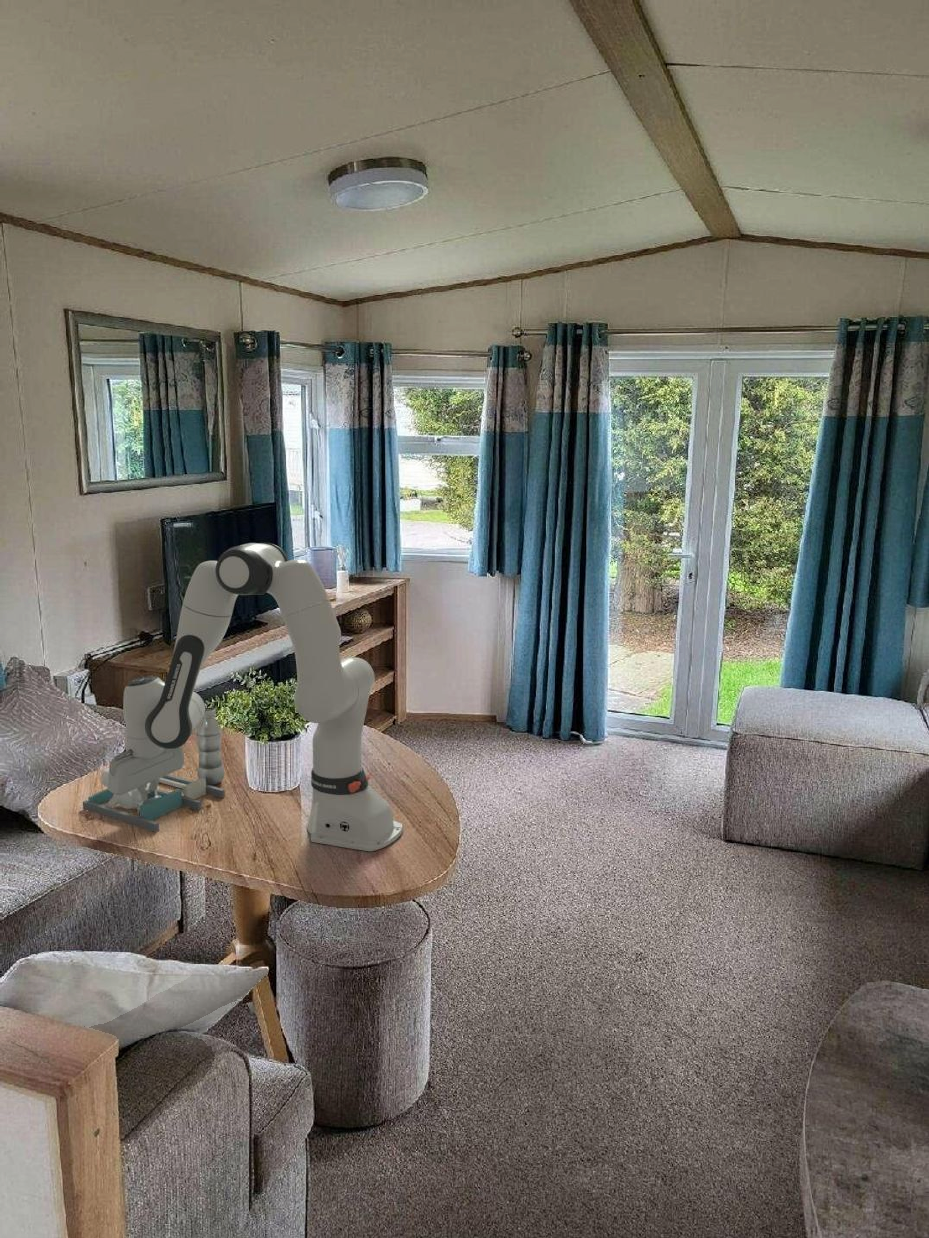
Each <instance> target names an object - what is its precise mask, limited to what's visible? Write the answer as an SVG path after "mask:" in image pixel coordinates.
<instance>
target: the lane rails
mask: <svg viewBox="0 0 929 1238" xmlns="http://www.w3.org/2000/svg"><path fill="white" fill-rule="evenodd" d="M162 778H165V779H169V780H173V781H176V782H180V783H183V784H190V783H192V782H194V781H195V780H191V779H188V778H184V777H182V776H181V777H180V776H177V775H173V774H171V773H170V774H168V775H166V776H164V777H162ZM156 791H157V794H158V795H162V796H164V795H166V794H168V793H170V791H167V790H163V789H160V788H157V789H156ZM225 791H226V790H225V788H220V787H217V786H214V785H207V784H206V794H205V795H210V796H213V797H217V798H220V799H223V798H225V796H226V794H225V793H226V792H225ZM182 804H183V805H182V806H181V807H186V808H189V809H193V810H197V811H201V810H202V808H203V807H202V801H201V800H199V799H197V798H196V799H192V798H189V797H185V796H183V795H182ZM82 809H85V810H84V811H86V810H88V811H87V812H89V811H90V813H93V814H96V815H100V816H102V817H106V818H109V819H112V820H115V821H119V822H121V823H124V824H128V825H131V826H134V827H137V828H141V829H144V830H147V831H150V832H154V833H158V832H159V831H160V826H159V825H160V824H159V822H157V821H154V820H148V819H145V818H142V817H140V816H139V815H136V816H135V814H133V815H132V813H130V812H126V811H123V810H120V809H117V810H116V808H114V807H111V808H110V807H106V805H104V806H103V804H101V805H100V804H97V803H93V802H90V801H89V800H83V801H82ZM119 810H120V811H119ZM122 811H123V812H122ZM129 813H130V814H129Z"/></svg>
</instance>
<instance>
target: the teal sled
mask: <svg viewBox="0 0 929 1238" xmlns="http://www.w3.org/2000/svg"><path fill="white" fill-rule="evenodd" d="M169 792H170V791H169ZM113 795H114V794H113V793H111V792H110V791H109V790H108V788H107V787H106V788H105V789H103V790H101V791H98V792H96V793H94V794H91V795H89V796H88V797H87V798H88V800H87V801H90V802H93V803H97V804H100V805H103V803H106V802H109V800H110V799H111V798H112V797H113ZM157 796H159V798H158V799H156V800H154V801H151V802H149V803H147V804H145V805H143V806H141V807H140V814H139V815H140V816H139V817H142V818H145V819H148V820H152V821H154V820H155V819H158V818H160V817H162V816H164V815H166V814H168V813H170V812H172V811H173V810H176V809H178V808H180V807H183V806H182V805H183V804H182V796H183V789H181V788H180V789H179V788H177V789H174V790H172V791H171V792H170V793H168V794H166V795H164V796H162V795H158V794H157ZM103 806H106V805H103ZM106 807H107V806H106ZM115 809H116V808H115ZM116 810H119V811H122V812H124V811H123V810H120V809H116ZM128 813H129V814H132V813H130V812H128ZM132 815H135V814H132ZM135 816H137V815H135Z"/></svg>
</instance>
